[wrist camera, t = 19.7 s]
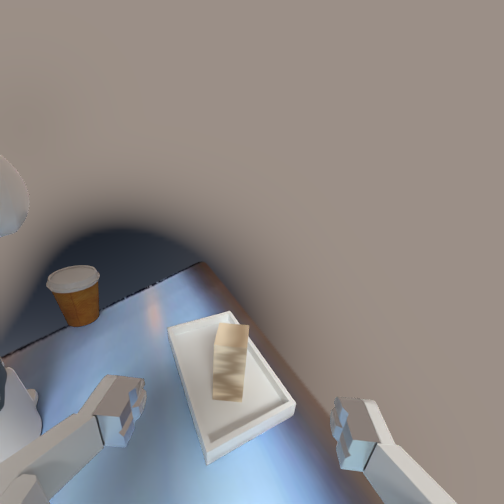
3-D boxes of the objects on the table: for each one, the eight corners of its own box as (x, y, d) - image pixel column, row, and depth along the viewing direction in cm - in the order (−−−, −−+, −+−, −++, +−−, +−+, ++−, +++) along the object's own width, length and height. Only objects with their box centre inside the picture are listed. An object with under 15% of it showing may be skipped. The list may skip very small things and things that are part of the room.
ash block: (212, 399, 39) (213, 344, 35) (217, 373, 44) (219, 322, 39) (241, 402, 39) (247, 348, 35) (244, 376, 44) (249, 325, 39)
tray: (168, 338, 52) (167, 327, 51) (229, 320, 59) (230, 310, 58) (206, 465, 32) (206, 452, 31) (293, 415, 39) (296, 403, 38)
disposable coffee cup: (79, 304, 61) (69, 262, 56) (115, 308, 60) (107, 266, 56) (47, 329, 52) (31, 282, 47) (88, 334, 51) (77, 287, 47)
